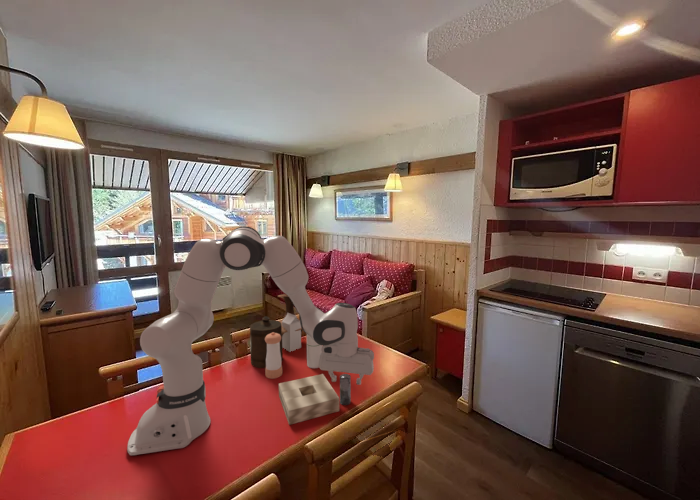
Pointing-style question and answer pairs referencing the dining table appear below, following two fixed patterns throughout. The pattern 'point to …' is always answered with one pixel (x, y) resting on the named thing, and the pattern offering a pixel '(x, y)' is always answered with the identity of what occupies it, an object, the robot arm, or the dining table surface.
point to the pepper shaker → (273, 356)
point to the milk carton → (291, 333)
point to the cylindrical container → (313, 353)
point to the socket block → (308, 398)
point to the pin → (345, 389)
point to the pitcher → (288, 310)
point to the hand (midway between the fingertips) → (346, 382)
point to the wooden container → (262, 340)
